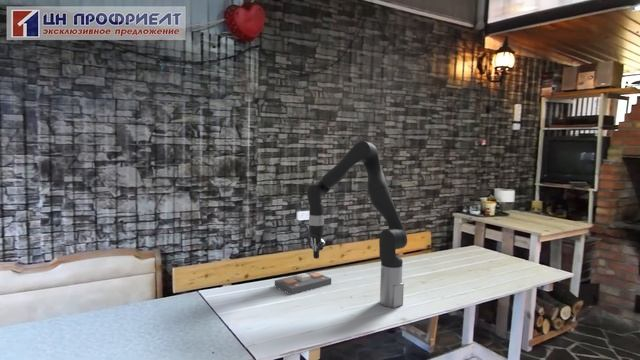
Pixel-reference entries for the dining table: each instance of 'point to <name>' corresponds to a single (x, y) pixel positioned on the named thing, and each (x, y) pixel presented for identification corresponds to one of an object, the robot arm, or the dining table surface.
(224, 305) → the dining table surface
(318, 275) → the key right
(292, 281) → the key left
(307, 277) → the key middle
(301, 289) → the keypad
